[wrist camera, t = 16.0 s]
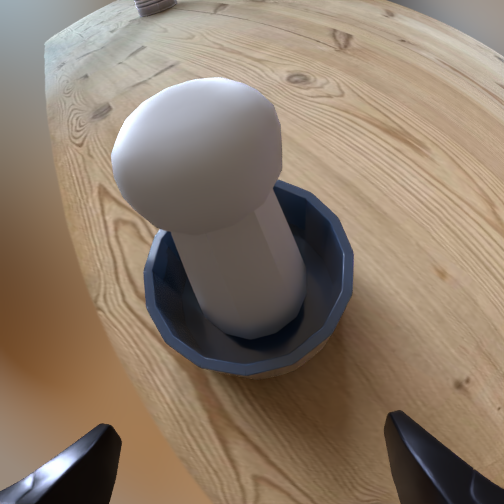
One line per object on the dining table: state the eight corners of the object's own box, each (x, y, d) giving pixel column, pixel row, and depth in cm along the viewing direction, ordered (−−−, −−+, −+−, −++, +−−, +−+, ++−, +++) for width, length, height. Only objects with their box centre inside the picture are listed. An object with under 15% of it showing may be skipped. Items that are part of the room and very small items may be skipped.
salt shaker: (323, 317, 16) (375, 136, 5) (232, 362, 16) (77, 275, 4) (277, 237, 19) (245, 38, 7) (195, 277, 19) (74, 113, 7)
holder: (285, 409, 15) (282, 418, 10) (151, 322, 18) (109, 298, 14) (364, 265, 18) (383, 223, 13) (234, 205, 21) (218, 157, 17)
